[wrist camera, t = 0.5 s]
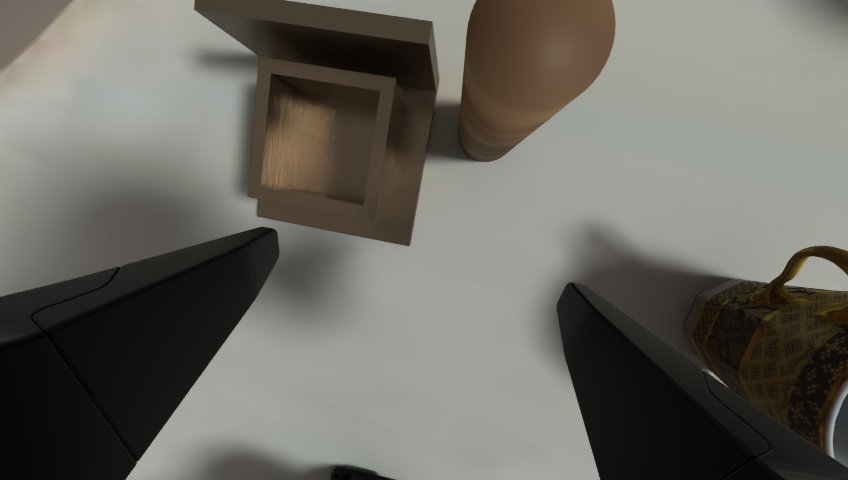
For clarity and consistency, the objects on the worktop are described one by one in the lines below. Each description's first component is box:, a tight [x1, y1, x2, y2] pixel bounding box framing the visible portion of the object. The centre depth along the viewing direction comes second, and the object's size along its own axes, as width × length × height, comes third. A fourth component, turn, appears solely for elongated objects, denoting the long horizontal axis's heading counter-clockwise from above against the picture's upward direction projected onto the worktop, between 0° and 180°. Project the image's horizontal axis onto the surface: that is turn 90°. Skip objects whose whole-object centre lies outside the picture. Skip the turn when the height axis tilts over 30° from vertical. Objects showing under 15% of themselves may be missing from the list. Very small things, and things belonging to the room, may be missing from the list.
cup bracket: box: [194, 0, 439, 246], centre depth 19 cm, size 12×12×7 cm
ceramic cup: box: [684, 246, 848, 467], centre depth 16 cm, size 13×10×10 cm
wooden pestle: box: [459, 0, 615, 162], centre depth 15 cm, size 4×4×13 cm
